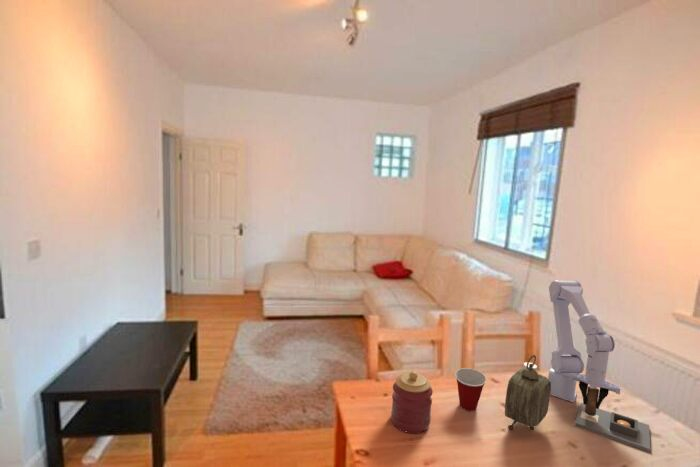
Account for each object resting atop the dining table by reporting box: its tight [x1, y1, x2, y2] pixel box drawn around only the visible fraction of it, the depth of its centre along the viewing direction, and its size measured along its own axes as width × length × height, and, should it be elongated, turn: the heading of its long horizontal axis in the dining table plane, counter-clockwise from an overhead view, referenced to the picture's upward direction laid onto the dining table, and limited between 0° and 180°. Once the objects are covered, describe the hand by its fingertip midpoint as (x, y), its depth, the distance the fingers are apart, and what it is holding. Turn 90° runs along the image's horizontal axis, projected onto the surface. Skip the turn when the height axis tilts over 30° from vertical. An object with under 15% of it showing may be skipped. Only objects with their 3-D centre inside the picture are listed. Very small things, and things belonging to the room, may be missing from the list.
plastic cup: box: [454, 367, 487, 412], centre depth 136 cm, size 11×11×12 cm
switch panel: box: [574, 402, 651, 453], centre depth 129 cm, size 20×15×4 cm
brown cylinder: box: [585, 385, 600, 416], centre depth 131 cm, size 3×3×9 cm
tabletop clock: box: [504, 354, 551, 431], centre depth 125 cm, size 14×9×25 cm, turn 134°
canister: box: [390, 371, 434, 434], centre depth 126 cm, size 13×13×18 cm
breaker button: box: [617, 420, 631, 427], centre depth 126 cm, size 4×4×1 cm
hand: (591, 405), depth 131 cm, fingers closed on brown cylinder, 3 cm apart
